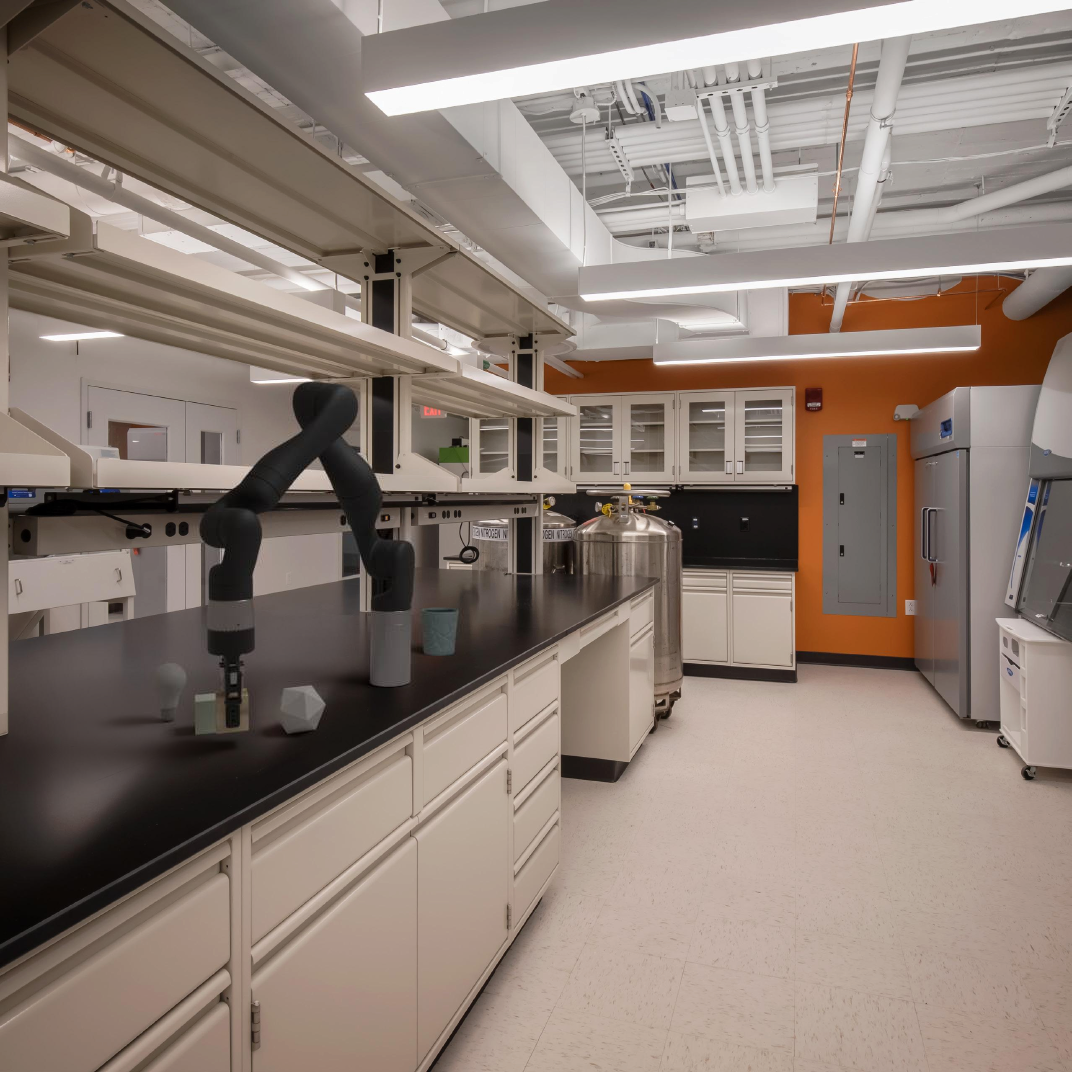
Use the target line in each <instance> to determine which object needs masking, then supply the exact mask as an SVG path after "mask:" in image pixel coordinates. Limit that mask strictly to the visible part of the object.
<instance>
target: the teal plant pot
mask: <svg viewBox="0 0 1072 1072" xmlns="http://www.w3.org/2000/svg"><path fill="white" fill-rule="evenodd" d="M421 618H422V619H421V620H422V621H421V622H422V640H423V654H424V655H426V656H427V655H428V656H435V657H440V656H441V657H442V656H451V655H453V654H454V653H455V646H456V637H457V626H458V618H459V609H457V608H453V607H451V608H450V607H428V608H427V607H426V608H422V609H421Z"/></svg>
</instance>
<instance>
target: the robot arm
mask: <svg viewBox="0 0 1072 1072" xmlns="http://www.w3.org/2000/svg"><path fill="white" fill-rule="evenodd" d="M292 410H293V414H294V417H295V419H296V421H297V423H298V425H299V427H300V429H301V431H300V432H299V433H297V434H295V435H294V436H292V437H291V438H289V439H287V440H286V441H284V442H282V443H281V444H279V445H277V446H275V447H274V448H273V449H271V450H270V451H268V452H266V453H265V454H264V455H263V456H262V457H261V458H259V460H258V461H257V462H256V463H255V464H254V465H253V467H252V468H251V469H250V470H249V471H248V472H247V474H246V475H245V476H244V477H243V479H242V480H241V481H240V482H239V484H237V485H236V486H234V487H233V488H231V490H228V492H226V493H225V494H224V495H223V496H221V497H220V498H219V499H218V500H217V501H215V502H214V503H213V504H212V505H210V506H209V507H208V508H207V509H206V511H205V512H204V514H203V515H202V517H201V520H200V522H199V526H198V527H199V528H198V530H199V531H198V532H199V536H200V538H201V540H202V541H203V542H204V543H205V544H206V545H207V546H209V547H212V548H215V549H223V551H224V552H223V556H222V561H221V562H220V563H217V564H215V565H213V566H212V567H211V568H209V572H208V605H207V610H206V611H207V612H206V613H207V614H206V625H207V626H206V627H207V628H206V631H207V632H206V634H207V636H206V640H207V642H206V643H207V645H206V647H207V653H208V654H209V655H212V656H216V657H217V656H218V657H220V656H222V657H221V659H220V660H221V661H219V662H218V672H219V673H218V674H219V680H220V681H219V682H220V686H221V687H220V689H221V690H220V691H222V692H223V693H224V694H225V701H224V705H225V707H226V727H227V728H236V727H239V726H240V705H241V703H242V699H241V691H242V690H243V689H244V674H245V663H244V660H242V659H241V660H240V658H241V656H242V655H248V654H249V653H252V652H254V650H255V648H256V642H255V641H256V639H255V638H256V635H255V634H256V632H255V630H256V628H255V627H256V622H255V620H256V619H255V618H256V617H255V615H256V614H255V605H254V604H255V603H254V578H253V576H254V571H255V567H256V565H257V561H258V557H259V553H260V549H261V545H262V542H263V541H262V540H263V529H262V528H263V527H262V524H261V520H260V519H259V517H258V515H259V514H260V515H261V514H263V513H268V512H270V511H271V510H273V508H275V507H276V505H277V504H278V503H279V502H280V501H281V499H282V497H284V495H285V494H286V493H287V491H288V490H289V489H290V488H291V486H292V485H293V484H294V482H295V481H296V480H297V479H298V477H299V476H300V475H301V474H302V473H303V472H304V471H305V470H306V469H307V468H308V467H309V466H310V465H311V464H312V463H313V462H314V461H316V460H317V459H318V460H319V462H320V464H321V466H322V468H323V470H324V472H325V473H326V476H327V478H328V480H329V483H330V485H331V488H332V489H333V492H334V494H335V496H336V499H337V502H338V503H339V505H340V507H341V510H342V511H343V514H344V515H345V518H346V520H347V522H348V523H347V524H349V527H350V529H351V533H352V534H353V538H354V540H355V543H356V546H357V550H358V554H359V555H360V559H361V562H362V565H363V568H364V569H365V572H366V573H367V574H368V576H369V577H371V578H374V579H377V580H391V587H390V588H389V589H388V590H386V591H384V592H382V593H378V594H375V595H374V596H372V597H371V600H370V649H369V651H370V652H369V653H370V654H369V655H370V656H369V657H370V659H369V675H370V676H369V683H370V684H371V685H372V686H378V687H386V688H387V687H388V688H389V687H400V686H405V685H407V684H409V683H411V661H412V658H411V657H412V656H411V653H412V652H411V651H412V650H411V649H412V648H411V647H412V646H411V645H412V642H411V641H412V601H413V596H414V585H415V584H414V583H415V582H414V581H415V569H416V555H415V554H416V553H415V548H414V546H413V544H412V543H411V542H410V541H408V540H404V539H403V540H402V539H399V540H398V539H383V538H381V537H380V536H379V534H378V532H377V529H376V523H377V520H378V518H379V515H380V512H381V509H382V506H383V502H384V501H383V500H384V495H383V492H382V488H381V485H380V483H379V481H378V478H377V476H376V475H377V474H376V473H375V472H374V470H373V468H372V467H371V465H370V464H369V463H368V462H367V461H366V460H365V459H364V457H363V456H362V455H360V453H358V451H356V450H355V449H354V448H353V447H352V446H351V445H350V444H349V443H348V442H347V440H345V438H343V436H344V434H345V433H347V431H348V430H349V429H350V428H351V426H353V424H354V423H355V421H356V418H357V416H358V412H359V401H358V397H357V395H356V394H355V392H354V390H353V389H352V388H350V387H349V386H347V385H343V384H339V383H332V382H331V383H330V382H322V381H321V382H320V381H306V382H302V383H300V384H299V385H297V387H296V388H295V390H294V391H293V394H292ZM230 693H237V697H235V698H229V694H230Z"/></svg>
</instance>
